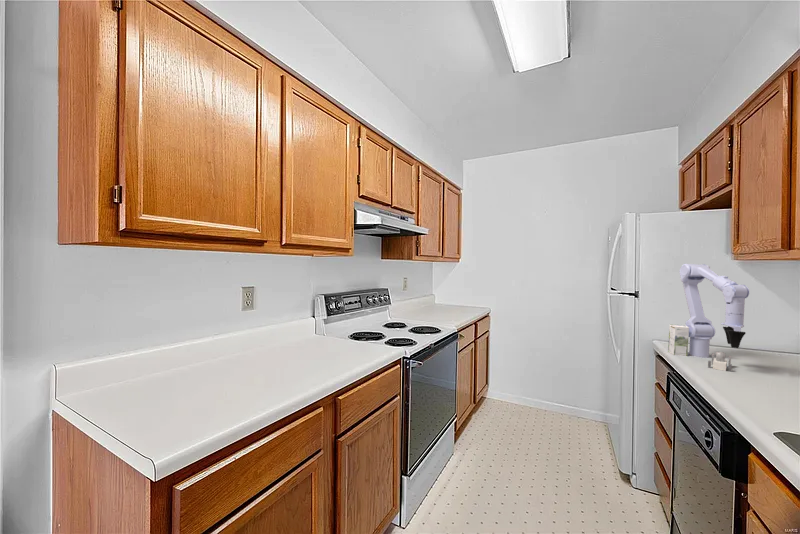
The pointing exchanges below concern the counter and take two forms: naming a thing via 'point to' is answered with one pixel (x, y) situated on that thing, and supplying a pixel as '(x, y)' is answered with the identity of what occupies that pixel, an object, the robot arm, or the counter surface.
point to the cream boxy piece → (713, 359)
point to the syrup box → (678, 340)
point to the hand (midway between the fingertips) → (732, 345)
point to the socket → (710, 365)
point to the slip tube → (720, 361)
